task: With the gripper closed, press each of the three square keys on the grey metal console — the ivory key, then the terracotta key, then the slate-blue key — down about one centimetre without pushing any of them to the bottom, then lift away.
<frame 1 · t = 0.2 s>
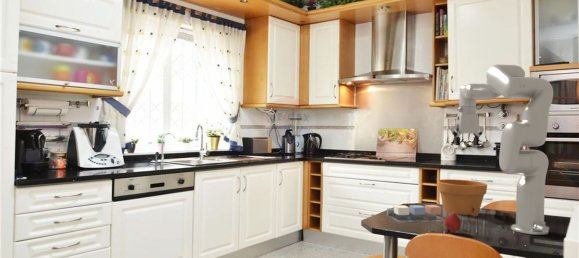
hand: (466, 145, 211), 31 cm above the table, tool pointing down, fingers open, 9 cm apart
slate key: (417, 209, 181), point 5 cm above the table, slide at 0.0 cm
terracotta key: (432, 209, 182), point 5 cm above the table, slide at 0.0 cm
flower pot: (461, 214, 197), on the table
onion: (452, 233, 162), on the table
ivory key: (401, 210, 180), point 5 cm above the table, slide at 0.0 cm
console: (417, 221, 181), on the table
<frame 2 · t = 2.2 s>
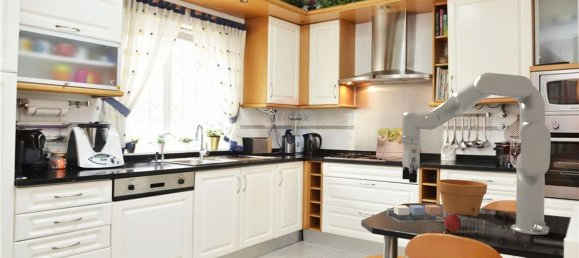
hand: (409, 180, 184), 17 cm above the table, tool pointing down, fingers open, 9 cm apart
nothing on the table moved.
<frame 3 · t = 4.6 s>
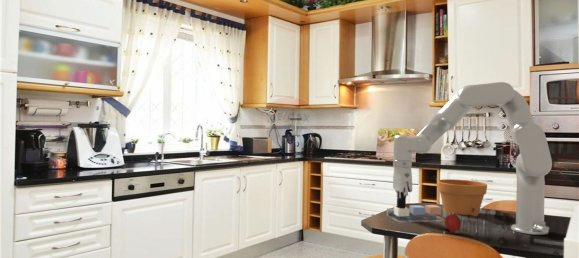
hand: (401, 207, 180), 6 cm above the table, tool pointing down, fingers closed
ivory key: (401, 211, 180), point 4 cm above the table, slide at 0.5 cm, touching gripper
everything else where it was.
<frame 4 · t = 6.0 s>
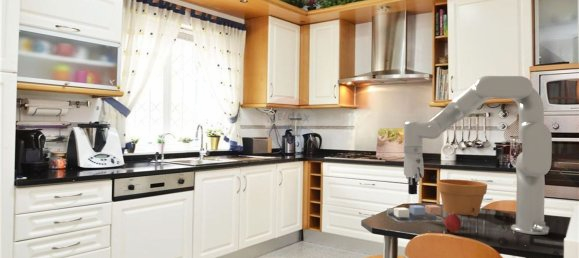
hand: (412, 193, 181), 12 cm above the table, tool pointing down, fingers closed
ivory key: (401, 212, 180), point 4 cm above the table, slide at 0.9 cm
everything else where it was.
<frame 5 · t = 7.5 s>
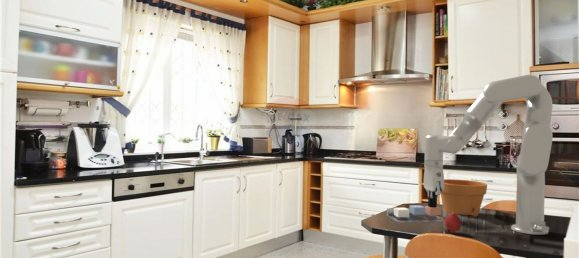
hand: (432, 206, 182), 6 cm above the table, tool pointing down, fingers closed
terracotta key: (432, 210, 182), point 4 cm above the table, slide at 0.4 cm, touching gripper
everything else where it was.
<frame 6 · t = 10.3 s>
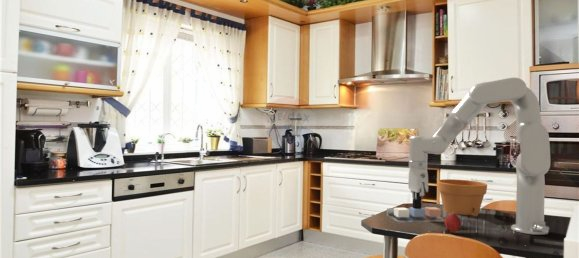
hand: (416, 208, 181), 5 cm above the table, tool pointing down, fingers closed
slate key: (417, 211, 181), point 4 cm above the table, slide at 0.8 cm, touching gripper
terracotta key: (432, 211, 182), point 4 cm above the table, slide at 0.9 cm
everything else where it was.
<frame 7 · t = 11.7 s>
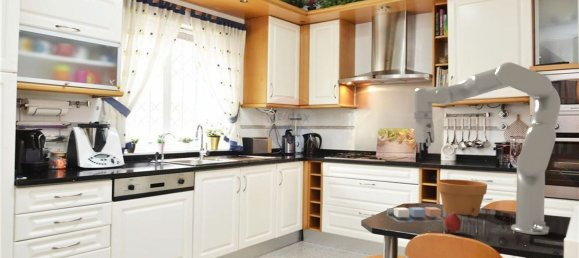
hand: (423, 159, 185), 26 cm above the table, tool pointing down, fingers closed
slate key: (417, 212, 181), point 4 cm above the table, slide at 0.9 cm
everything else where it was.
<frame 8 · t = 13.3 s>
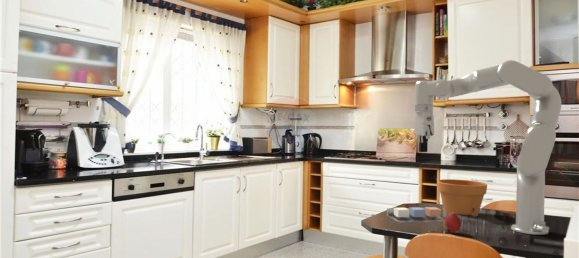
hand: (423, 151, 185), 29 cm above the table, tool pointing down, fingers closed
nothing on the table moved.
at the end: ivory key slide at 0.9 cm; terracotta key slide at 0.9 cm; slate key slide at 0.9 cm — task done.
